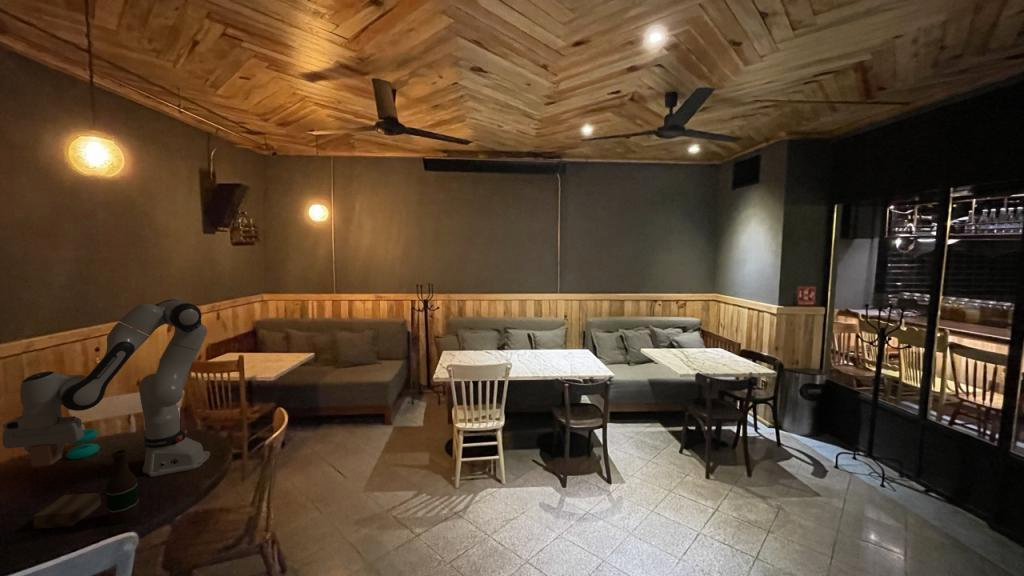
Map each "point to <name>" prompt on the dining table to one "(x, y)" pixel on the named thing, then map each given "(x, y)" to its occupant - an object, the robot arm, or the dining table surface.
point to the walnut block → (67, 510)
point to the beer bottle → (122, 491)
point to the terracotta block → (43, 455)
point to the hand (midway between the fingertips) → (46, 455)
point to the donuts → (84, 446)
